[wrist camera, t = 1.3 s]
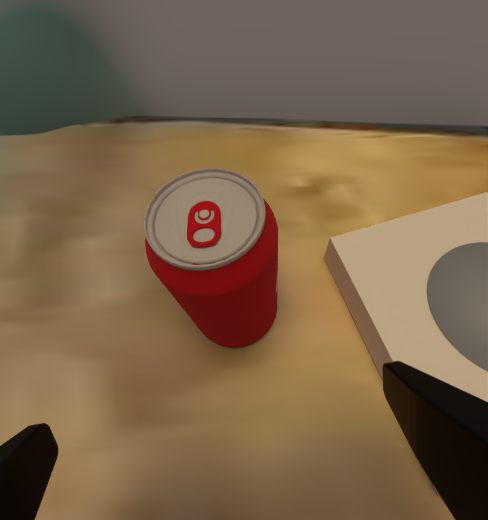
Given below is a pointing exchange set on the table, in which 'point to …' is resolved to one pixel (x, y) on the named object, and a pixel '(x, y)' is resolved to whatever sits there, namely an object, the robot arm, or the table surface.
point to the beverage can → (216, 252)
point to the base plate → (422, 290)
